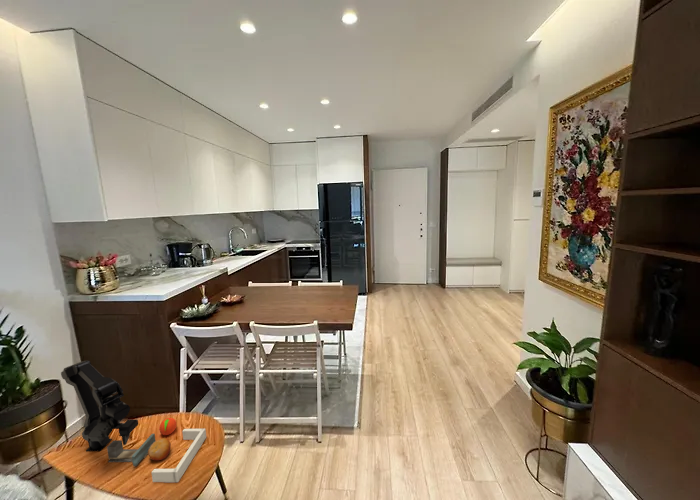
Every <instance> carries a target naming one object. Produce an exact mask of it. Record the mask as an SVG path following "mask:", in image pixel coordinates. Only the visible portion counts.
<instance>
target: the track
mask: <svg viewBox="0 0 700 500" xmlns="http://www.w3.org/2000/svg"><path fill="white" fill-rule="evenodd" d="M138 449H139V448H137V449H135V448H134V449H133V448H132V449H131V448H130V449H123V451H137V450H138ZM107 462H108V463H133V462H132V459H108V461H107Z"/></svg>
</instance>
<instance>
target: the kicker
mask: <svg viewBox="0 0 700 500" xmlns="http://www.w3.org/2000/svg"><path fill="white" fill-rule="evenodd" d="M155 434H156V433H151V434H150V435H149V436H148V437H147V439H146V440H145V441H144V442H143V443H142V444H141V445H140V446H139V448H137V449H138V450H137V451H123V450H124V447H123V446H124V445H123V441H122V439H120V440H116V439H115V440H112V441H111V443H109V444H107V445H106V446H107V447H106V450H107V456H108V460H110V459H132V462H131V463H132V467H137V466H138V465H139V464H140V462H141V461H142V460H143V459H146V458H147V456H149V455H148V450H149V448H150V446H151V445H152V444H153V443H154V442H155V441H156V440H157V439H156V435H155Z"/></svg>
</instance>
